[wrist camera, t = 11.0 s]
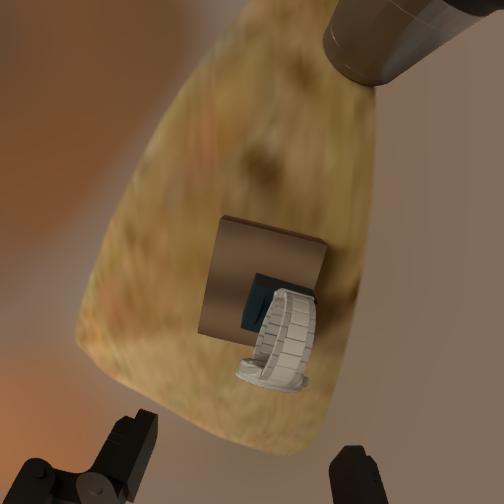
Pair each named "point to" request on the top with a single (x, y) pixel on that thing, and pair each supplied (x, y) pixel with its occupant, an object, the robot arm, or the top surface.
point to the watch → (278, 334)
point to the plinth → (252, 272)
